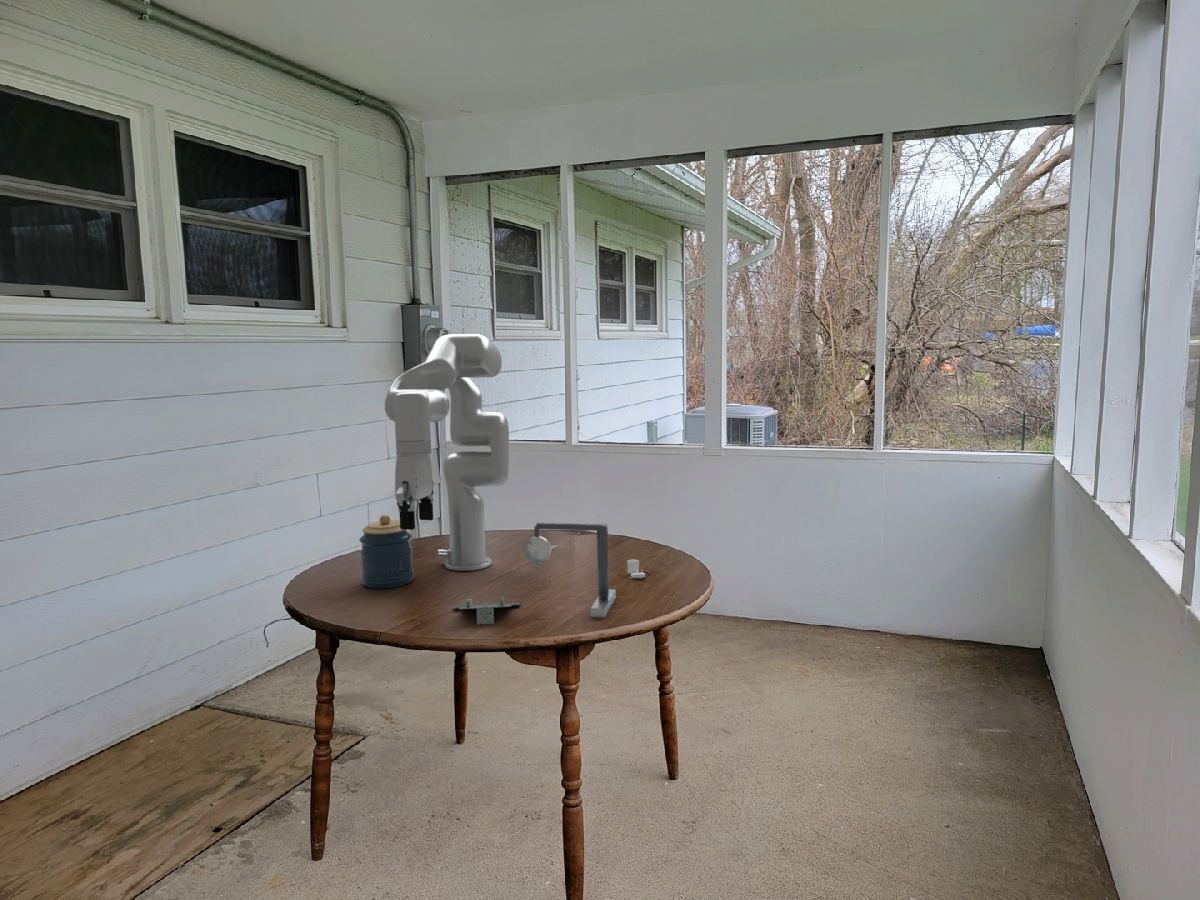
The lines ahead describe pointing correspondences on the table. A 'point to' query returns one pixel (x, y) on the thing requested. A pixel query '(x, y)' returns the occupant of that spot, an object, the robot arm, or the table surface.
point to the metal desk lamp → (540, 550)
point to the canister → (386, 554)
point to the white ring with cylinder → (634, 569)
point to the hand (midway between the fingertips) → (417, 524)
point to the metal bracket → (485, 610)
